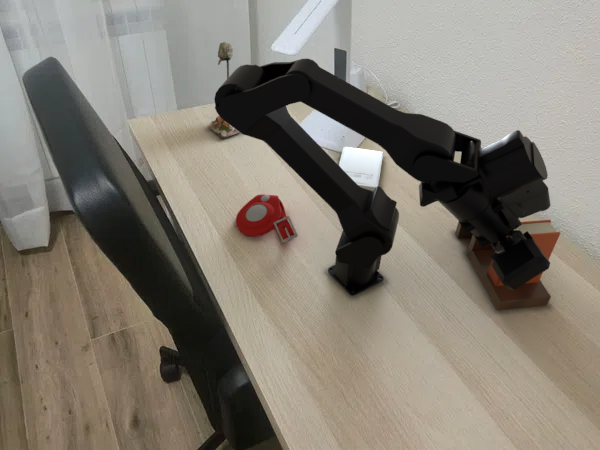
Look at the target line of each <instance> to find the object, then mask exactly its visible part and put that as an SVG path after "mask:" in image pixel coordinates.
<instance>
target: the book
mask: <svg viewBox="0 0 600 450" xmlns="http://www.w3.org/2000/svg"><path fill="white" fill-rule="evenodd" d="M551 222H552V220H551V219H539V220H529V221H521V223H522V225H521V226H519V227H518V228H516V229H513V230H520V231H521V232H522V233H523V234H524V233H525V232H527V231H528V232H529V234H530V235H531V237H532V238H533V240H534V241H535V243H536V244H537V245H538V246H539V248H540V249H541V250H542V252H543V253H544V255H545V256H546V257H547V259H548V260H549V261H550V258H551V256H552V253H553V251H554V249H555V246H556V245H557V242H558V240H559V238H560V235H561V231H557V230H556V229H555V228H554V226H553V225H552V224H551ZM507 237H509V236H508V235H507ZM499 243H500V241H499ZM495 252H496V251H495ZM492 263H493V260H492V261H491V264H490V267H489V269H488V274H489V276H490V277H491V279H492V281H493V283H494V284H495V286H503V284H502V282H501V281H500V279H499V277H498V276H497V274H496V272H495V270H494V269H493V267H492ZM543 273H544V272H542V273H541V274H539V275H537V276H536V277H534V278H533V279H531V280H529V281H528V282H526V283H535V282H539V280H540V281H541V278H542V275H543Z"/></svg>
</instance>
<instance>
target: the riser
mask: <svg viewBox="0 0 600 450" xmlns="http://www.w3.org/2000/svg"><path fill="white" fill-rule="evenodd" d="M518 219H519V221H520V222H522V221H521V219H520V218H518ZM454 234H455V236H456V237H457V238H458V239H460V238H470V237H471V240H470V243H469V246H468V249H467V252H466V256H467V258H468V260H469V262H470V263H471V265H472V267H473V269H474V271H475V272H476V275H477V276H478V278H479V280H480V282H481V283H482V286H483V287H484V289H485V291H486V292H487V295H488V296H489V299H490V301H491V302H492V304H493V306H494V307H495V310H496V311H505V310H516V309H525V308H536V307H545V306H548V304H549V302H550V300H551V298H552V296H551V294H550V293H549V291H548V290H547V288H546V287H545V285H544V284H543V282H542V280H541V279H540V280H539V282H535V283H525V284H523V285H522V286H520V287H518V288H517V289H515V290H510V289H508V288H507V287H505V286H504V285H503V286H495V284H494V283H493V281H492V279H491V277H490V276H489V274H488V269H489V267H490V264H491V261H492V258H491V255H492V254H494V253H495V250H494V248H493V246H492V245H491V243H489V244H488V245H486V246H485V247H483V248H482V247H481V246H480V245H479V243H478V242H477V240H476V238H475V235H473V234H472V233H471V232H469V233H468V234H467V233H466V232H465V231H464V230H463V228H462V226H461V224H460V223H459V221H458V222H457V225H456V229H455V232H454Z"/></svg>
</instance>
